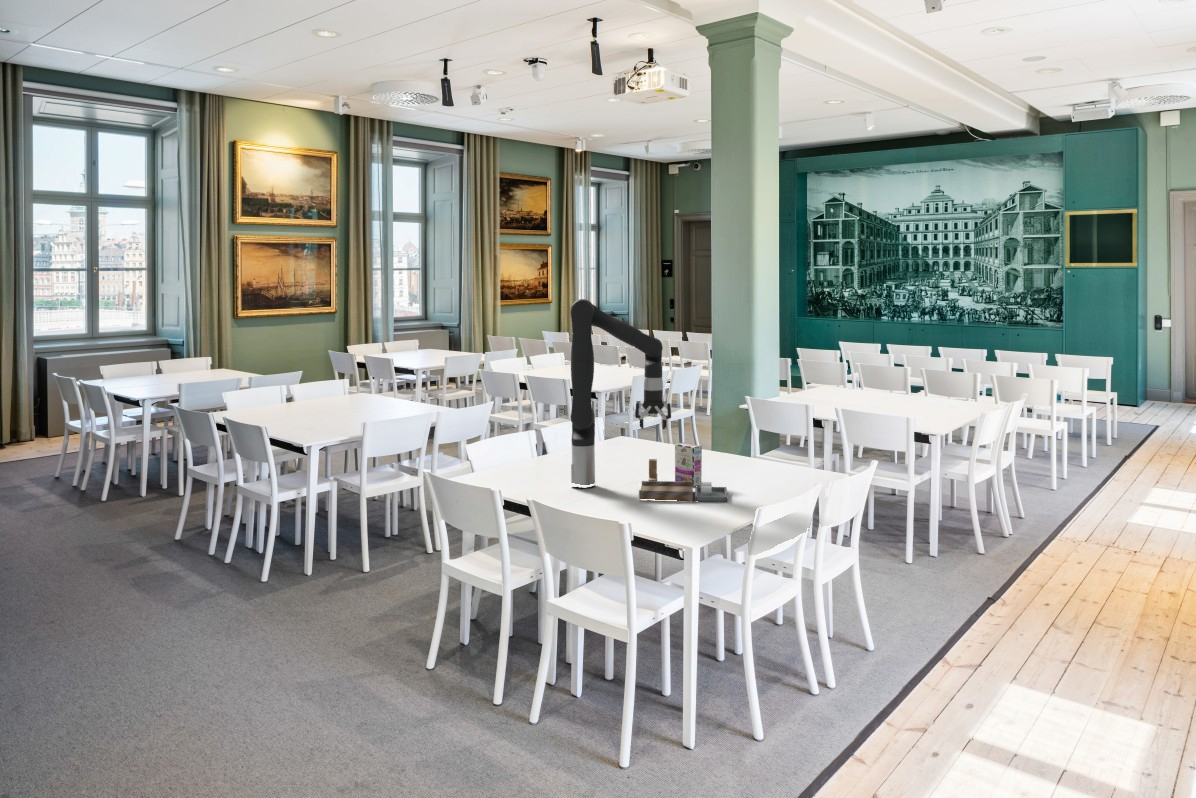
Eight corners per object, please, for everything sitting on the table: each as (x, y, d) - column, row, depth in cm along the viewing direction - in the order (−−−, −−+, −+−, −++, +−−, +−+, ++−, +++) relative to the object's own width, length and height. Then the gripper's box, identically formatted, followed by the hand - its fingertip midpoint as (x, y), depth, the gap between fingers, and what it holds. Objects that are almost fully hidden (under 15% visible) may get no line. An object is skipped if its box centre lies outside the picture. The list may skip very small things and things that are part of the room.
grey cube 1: (701, 484, 346) (711, 484, 345) (701, 482, 350) (711, 482, 349) (700, 494, 346) (711, 494, 346) (701, 492, 350) (711, 492, 350)
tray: (695, 501, 338) (695, 496, 337) (695, 491, 353) (695, 486, 353) (727, 502, 336) (727, 497, 336) (726, 492, 352) (726, 487, 352)
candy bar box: (702, 486, 363) (702, 445, 360) (693, 487, 360) (693, 447, 357) (683, 481, 371) (683, 442, 369) (674, 482, 368) (674, 443, 366)
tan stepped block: (648, 489, 358) (648, 462, 356) (650, 483, 369) (649, 456, 367) (655, 489, 358) (655, 462, 356) (657, 483, 368) (657, 457, 367)
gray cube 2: (700, 487, 341) (711, 487, 340) (700, 485, 345) (711, 485, 344) (700, 498, 341) (711, 498, 341) (700, 495, 345) (711, 495, 345)
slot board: (639, 501, 340) (639, 490, 339) (641, 490, 356) (641, 480, 355) (692, 501, 338) (692, 491, 337) (692, 491, 353) (692, 481, 353)
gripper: (634, 389, 355) (634, 430, 357) (671, 389, 353) (670, 430, 355) (636, 387, 362) (636, 426, 364) (671, 387, 360) (671, 427, 363)
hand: (653, 428), depth 360 cm, fingers open, 8 cm apart
